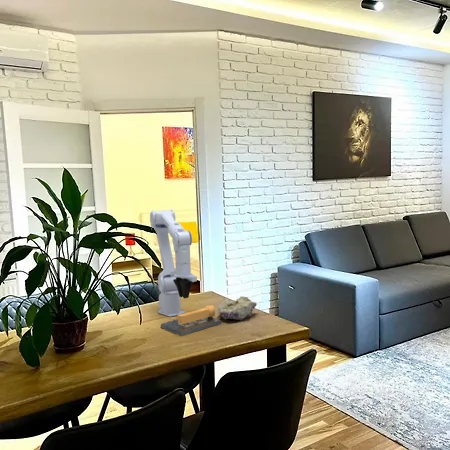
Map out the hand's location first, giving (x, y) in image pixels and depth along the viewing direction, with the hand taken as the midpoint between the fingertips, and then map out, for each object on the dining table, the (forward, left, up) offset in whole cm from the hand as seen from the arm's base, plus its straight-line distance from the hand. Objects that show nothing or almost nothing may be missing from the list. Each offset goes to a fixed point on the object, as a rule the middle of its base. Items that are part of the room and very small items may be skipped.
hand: (184, 297), depth 178 cm
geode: (+8, +20, -11) cm, 24 cm away
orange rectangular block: (+5, +2, -8) cm, 10 cm away
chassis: (+4, 0, -10) cm, 11 cm away
